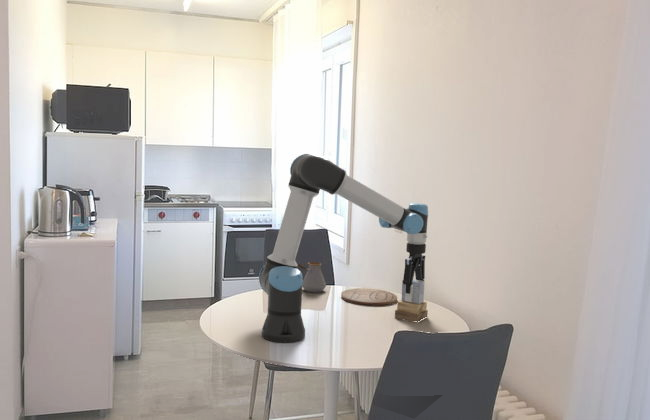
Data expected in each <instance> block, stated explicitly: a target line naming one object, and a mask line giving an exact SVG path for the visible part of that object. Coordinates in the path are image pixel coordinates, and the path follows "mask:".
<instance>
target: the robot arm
mask: <svg viewBox="0 0 650 420" xmlns="http://www.w3.org/2000/svg"><path fill="white" fill-rule="evenodd" d="M289 174H290V178H289V181H288V186H287V187H288V189H289V190H290V193H289V195H288V196H289V197H288V201H287V204H286V206H285V210H284V214H283V217H282V220H281V223H280V227H279V230H278V234H277V238H276V240H275V245H274V248H273V251H272V253H271V254H269V255H268V256H267V257H266V261H265V264H264V265H263V266H262V267H261V269H260V271H259V273H258V274H259V275H258V280H259V281H258V282H259V284H260V287H261V289H262V290H263V292H265V294H266V295H267V314H266V317H265V320H264V323H263V326H262V328H261V337H262V338H263V339H265V340H267V341H270V342H275V343H282V344H283V343H285V344H286V343H296V342H299V341H302V340H304V339H305V338H306V328H305V324H304V322H303V317H302V300H303V287H302V284H303V280H304V278H303V273H302V272H301V270H300V269H298V265H297V264H298V263H297V261H296V257H297V254H298V251H299V247H300V244H301V240H302V238H303V235H304V234H303V233H304V232H305V231H304V230H305V227H306V223H307V220H308V216H309V214H310V210H311V206H312V204H313V200H314V198H315V197H317V196H318V195H319V194H320V190H321V191H323V192H326V193H328V194H330V195H332V196H333V195H338V196H340V197H341V198H344V199H345V200H347V201H349V202H350V203H352V204H354V205H356V206H358V207H360V208H361V209H363V210H365V211H367V212H369V213H370V214H372V215H373V216H376V217H377V218H378V222H379V225H380V227H381V228H384V229H386V228H387V229H396V230H398V231H401V232H405V233H406V234H407V235H406V241H407V243H406V249H405V250H406V252H407V253H409V255H408V258H405V259H404V271H403V279H402V280H403V284H404V285H406V289H405V301H409V302H412V291H413V285H412V281H413V279H414V276H415V280H421V281H424V282H425V279H426V277H425V274H426V273H425V268H426V267H425V263H426V255H424V254H426V252H427V251H426V250H427V249H426V248H427V244H426V243H427V238H428V235H427V231H428V219H429V207H428V205H427V204H425V203H410V204H408V208H406V207H403V205H402V206H401V205H400V204H398V203H397V202H395V201H393V200H391V199H389V198H387V197H386V196H384V195H382V194H381V193H379V192H377V191H376V190H374V189H372V188H370V187H368V186H367V185H365V184H364V183H361V182H360V181H358V180H356V179H354V178H353V177H351V176H349V175H348V174H347V171H346V170H344V169H343V168H342V167H340V166H338V165H337V164H336V163H334V162H333V161H331V160H329V159H328V158H326V156H323V155H320V154H313V153H303V154H301V155H299V156H297V157H295V159H294V160H293V161H292V163H291V165H290V169H289Z"/></svg>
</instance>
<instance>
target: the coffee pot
mask: <svg viewBox="0 0 650 420" xmlns="http://www.w3.org/2000/svg"><path fill="white" fill-rule="evenodd" d="M297 265H298V266H297V268H298V267H299V268H301V269H303V270H305V271H306V274H305V276H304V278H303V284H302V289H304V290H305V292H308V293H315V294H316V293H320V292H321V293H322V291H323V290H325V288H326V287H327V283H326V281H325V280H326V279H325V278H324V274H323V272H322V269H321V266H322V265H323V264H322V263H321V262H317V261H312V262H311V261H310V262H309V261H308V262H307V265H308V267H306V266H305V265H302V264H300V263H297Z"/></svg>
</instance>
